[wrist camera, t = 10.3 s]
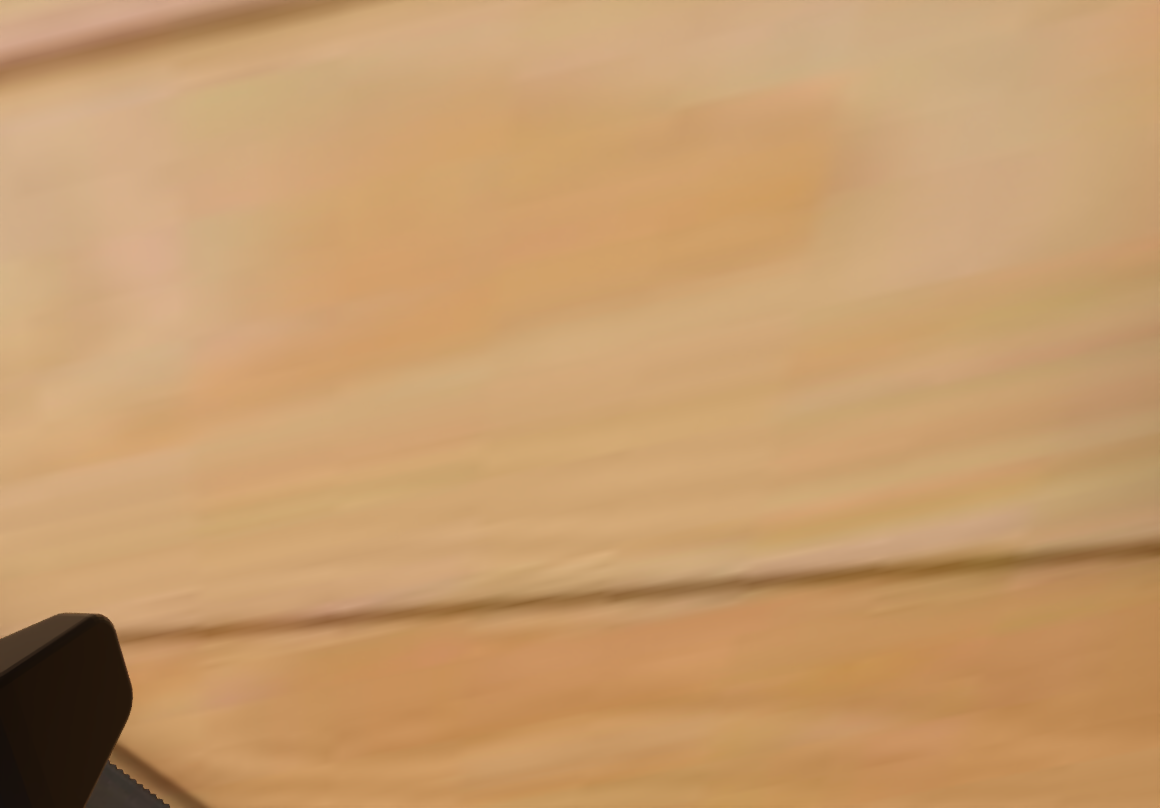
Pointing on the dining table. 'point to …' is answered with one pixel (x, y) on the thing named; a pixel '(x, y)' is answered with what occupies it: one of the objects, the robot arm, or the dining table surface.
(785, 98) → the dining table surface
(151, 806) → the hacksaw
